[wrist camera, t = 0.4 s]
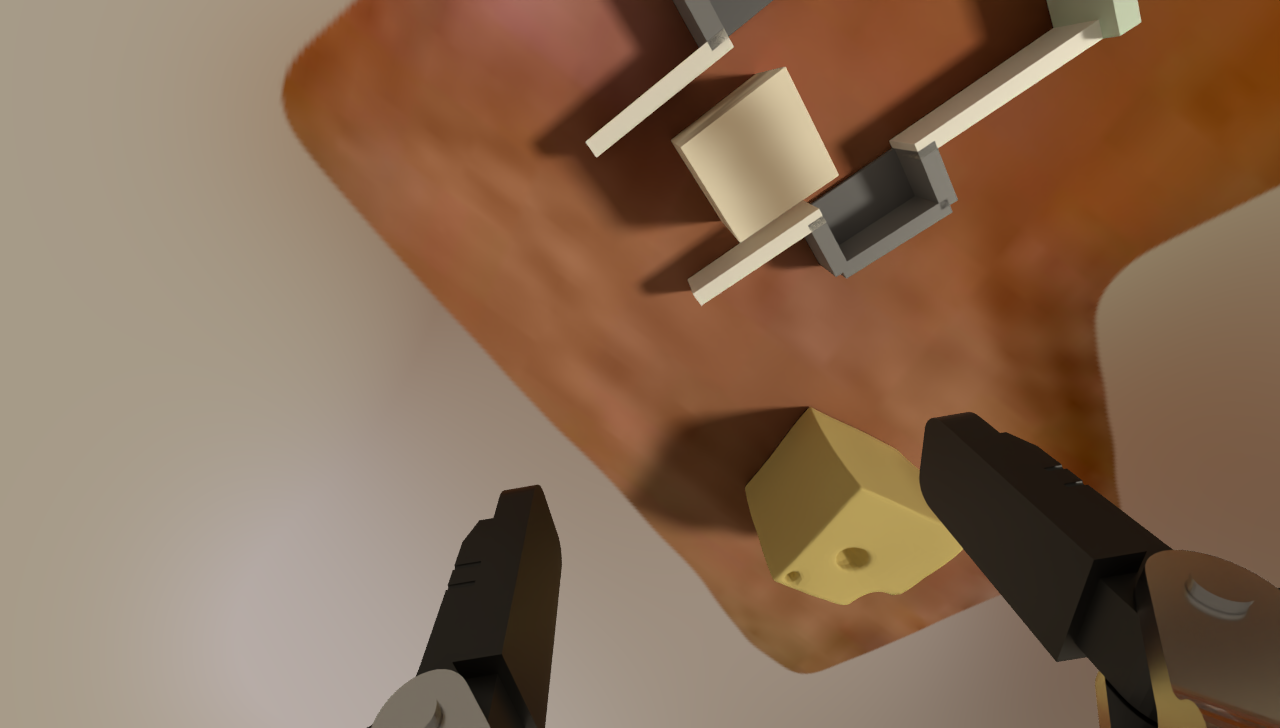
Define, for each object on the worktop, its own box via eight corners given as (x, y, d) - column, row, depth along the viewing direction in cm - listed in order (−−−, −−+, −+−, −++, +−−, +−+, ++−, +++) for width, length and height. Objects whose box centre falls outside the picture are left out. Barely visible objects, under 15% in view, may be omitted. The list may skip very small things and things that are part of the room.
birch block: (755, 74, 29) (785, 66, 23) (801, 163, 31) (838, 175, 26) (670, 140, 30) (680, 147, 25) (720, 220, 32) (740, 243, 27)
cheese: (830, 525, 46) (880, 626, 37) (734, 486, 43) (763, 584, 34) (906, 446, 42) (983, 537, 33) (806, 397, 39) (860, 481, 30)
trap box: (991, -320, 22) (1063, -403, 18) (1091, 97, 30) (1154, 96, 26) (545, 77, 28) (534, 72, 25) (724, 332, 36) (735, 356, 32)
